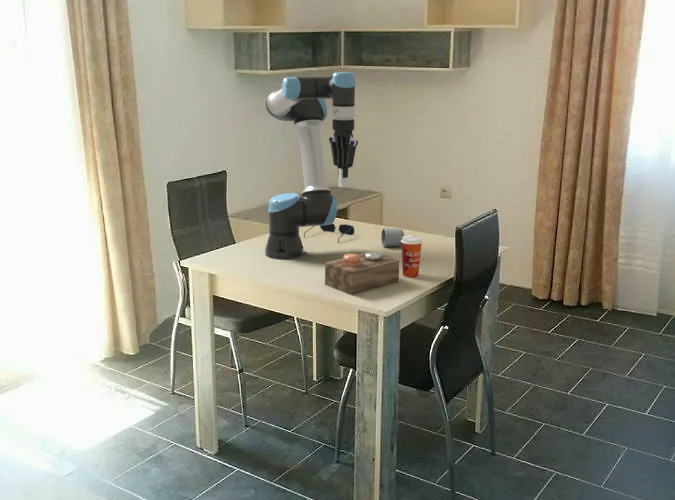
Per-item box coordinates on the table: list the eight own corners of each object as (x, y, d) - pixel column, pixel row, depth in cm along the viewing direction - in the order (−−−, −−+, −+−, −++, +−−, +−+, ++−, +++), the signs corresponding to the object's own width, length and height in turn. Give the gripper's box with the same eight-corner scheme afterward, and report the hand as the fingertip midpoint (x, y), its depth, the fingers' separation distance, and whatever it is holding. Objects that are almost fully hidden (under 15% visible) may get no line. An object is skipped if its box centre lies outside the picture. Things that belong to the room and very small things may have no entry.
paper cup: (406, 279, 274) (407, 241, 270) (396, 273, 281) (397, 236, 277) (425, 277, 277) (427, 239, 273) (415, 271, 284) (416, 234, 280)
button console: (325, 284, 268) (325, 262, 265) (371, 272, 281) (372, 251, 279) (351, 295, 257) (351, 272, 255) (398, 282, 271) (399, 260, 269)
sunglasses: (355, 236, 333) (354, 225, 331) (338, 248, 321) (338, 237, 319) (320, 231, 341) (319, 220, 339) (303, 242, 329) (302, 231, 327)
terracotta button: (339, 276, 266) (340, 255, 264) (352, 273, 269) (352, 252, 267) (350, 280, 262) (350, 259, 259) (362, 277, 265) (363, 256, 263)
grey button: (361, 274, 272) (361, 253, 270) (373, 271, 276) (373, 251, 274) (372, 278, 268) (372, 257, 266) (384, 275, 272) (384, 254, 269)
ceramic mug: (404, 248, 314) (405, 229, 312) (385, 248, 312) (385, 230, 310) (397, 241, 324) (398, 223, 322) (378, 242, 322) (379, 224, 320)
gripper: (322, 117, 266) (322, 185, 272) (347, 121, 256) (346, 190, 263) (339, 116, 271) (338, 182, 277) (364, 119, 261) (363, 188, 267)
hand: (342, 186), depth 270 cm, fingers closed
